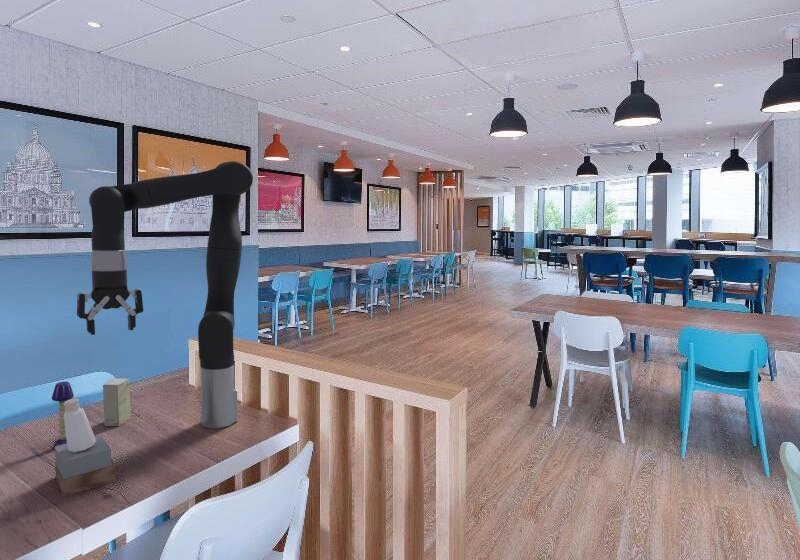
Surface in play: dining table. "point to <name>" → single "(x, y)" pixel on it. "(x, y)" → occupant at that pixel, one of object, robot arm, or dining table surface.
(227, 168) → the robot arm
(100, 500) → the dining table surface
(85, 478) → the walnut base block
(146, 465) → the dining table surface
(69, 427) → the pepper shaker
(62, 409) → the toy lamp
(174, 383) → the dining table surface
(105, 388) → the skincare box
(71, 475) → the grey top block
